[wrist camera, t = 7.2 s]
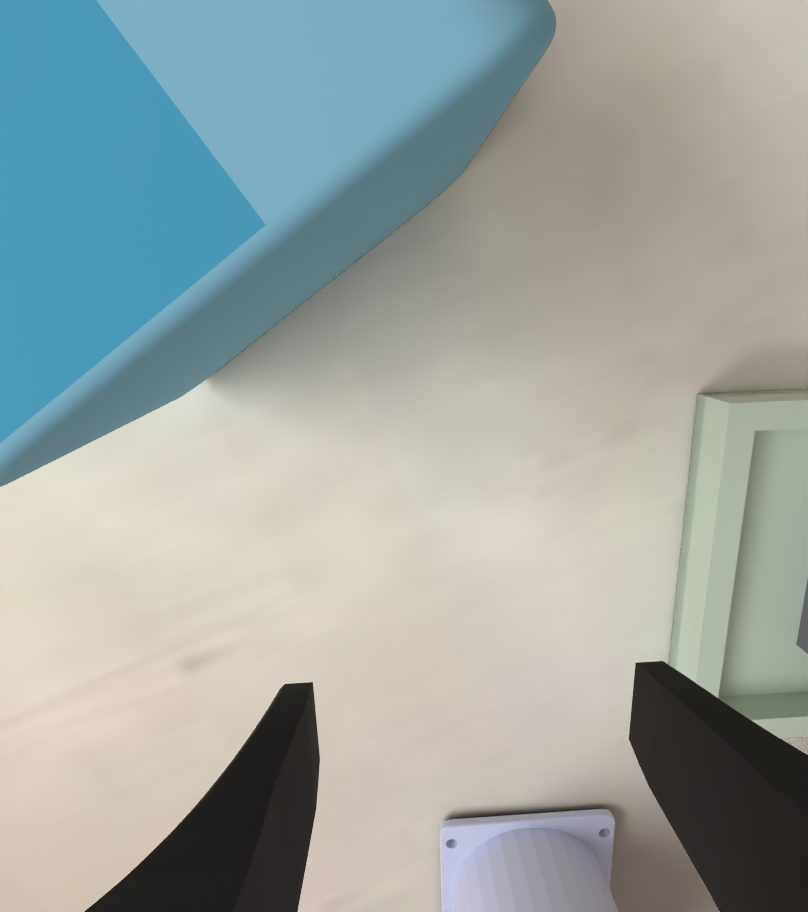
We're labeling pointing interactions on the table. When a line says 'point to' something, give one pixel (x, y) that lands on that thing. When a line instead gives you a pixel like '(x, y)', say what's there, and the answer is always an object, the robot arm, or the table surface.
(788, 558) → the tray
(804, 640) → the plug
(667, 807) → the robot arm
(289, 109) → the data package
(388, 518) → the table surface
